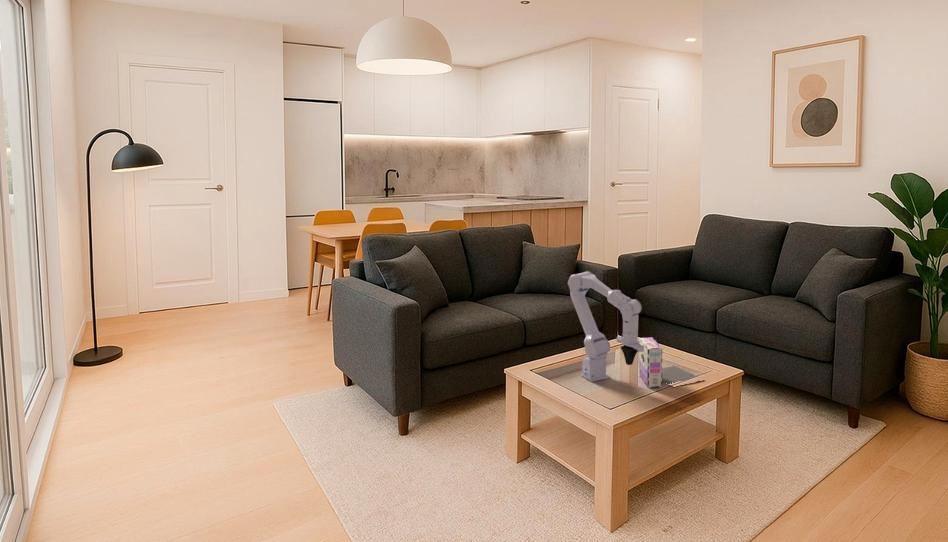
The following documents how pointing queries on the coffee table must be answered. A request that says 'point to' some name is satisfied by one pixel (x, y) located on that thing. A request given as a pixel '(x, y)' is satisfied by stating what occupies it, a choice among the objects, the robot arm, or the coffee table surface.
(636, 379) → the coffee table surface
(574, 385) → the coffee table surface
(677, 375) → the mat
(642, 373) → the candy box
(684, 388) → the coffee table surface
